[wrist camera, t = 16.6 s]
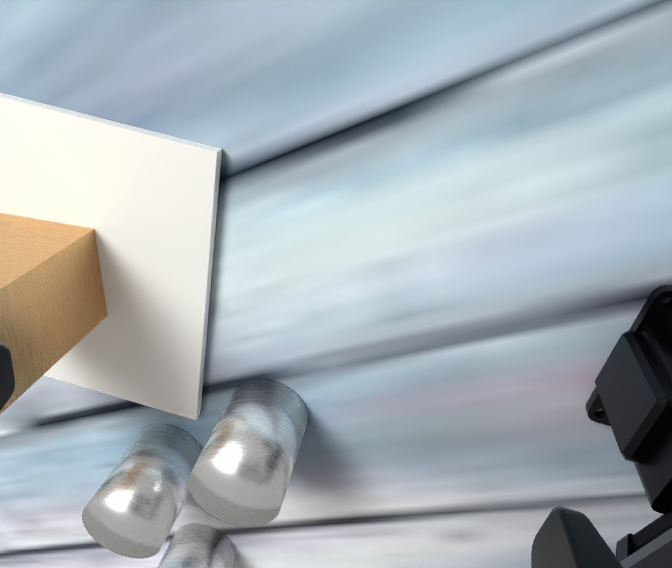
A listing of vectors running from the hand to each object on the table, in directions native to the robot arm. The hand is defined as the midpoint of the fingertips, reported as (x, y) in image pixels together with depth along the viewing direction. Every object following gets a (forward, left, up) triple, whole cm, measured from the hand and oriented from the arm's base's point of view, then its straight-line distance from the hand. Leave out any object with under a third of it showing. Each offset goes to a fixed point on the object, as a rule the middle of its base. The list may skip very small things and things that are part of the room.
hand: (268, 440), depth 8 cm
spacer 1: (+7, +18, -13) cm, 23 cm away
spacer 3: (+2, +13, -13) cm, 18 cm away
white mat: (+12, +7, -13) cm, 19 cm away
